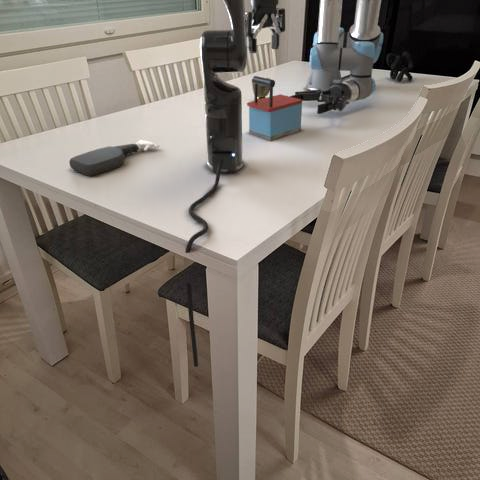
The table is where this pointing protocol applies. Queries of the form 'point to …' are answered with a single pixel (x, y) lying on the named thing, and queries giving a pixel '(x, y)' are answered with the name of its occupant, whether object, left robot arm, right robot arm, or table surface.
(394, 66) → the squiggle
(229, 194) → the table surface
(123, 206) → the table surface
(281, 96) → the lid
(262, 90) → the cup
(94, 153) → the wireless presentation dongle
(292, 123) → the chest
